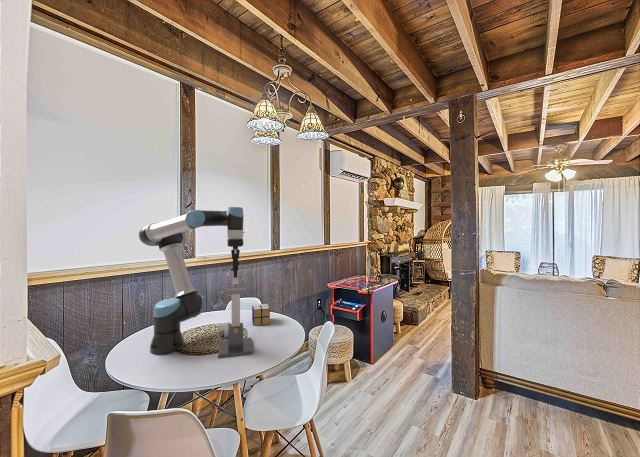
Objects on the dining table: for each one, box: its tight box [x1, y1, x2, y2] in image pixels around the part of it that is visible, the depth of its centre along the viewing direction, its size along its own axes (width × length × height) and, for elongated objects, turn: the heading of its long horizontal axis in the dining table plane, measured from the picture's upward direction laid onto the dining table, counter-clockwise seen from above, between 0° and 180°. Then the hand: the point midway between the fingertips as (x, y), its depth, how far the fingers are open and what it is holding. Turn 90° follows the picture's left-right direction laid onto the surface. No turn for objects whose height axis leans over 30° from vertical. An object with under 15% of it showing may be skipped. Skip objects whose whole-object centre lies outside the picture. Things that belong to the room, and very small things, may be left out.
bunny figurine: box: [216, 321, 231, 339], centre depth 162 cm, size 10×5×15 cm
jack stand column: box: [226, 287, 245, 328], centre depth 143 cm, size 8×4×22 cm, turn 106°
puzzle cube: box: [251, 303, 271, 327], centre depth 179 cm, size 10×10×10 cm
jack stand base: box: [217, 322, 254, 359], centre depth 143 cm, size 16×16×12 cm
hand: (235, 281), depth 142 cm, fingers open, 13 cm apart
